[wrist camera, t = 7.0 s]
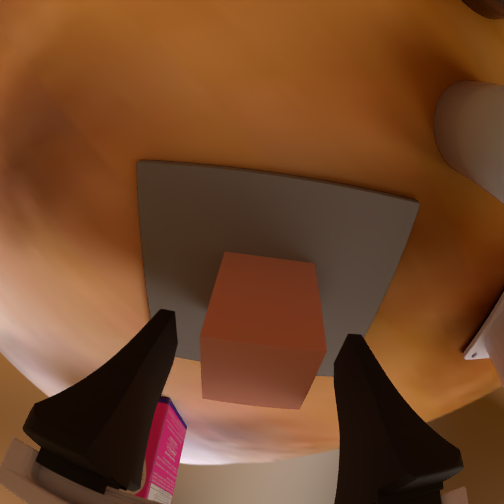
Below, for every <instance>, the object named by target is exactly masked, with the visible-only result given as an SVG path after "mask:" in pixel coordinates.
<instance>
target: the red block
mask: <svg viewBox="0 0 504 504" xmlns="http://www.w3.org/2000/svg"><path fill="white" fill-rule="evenodd" d="M326 352H327V347H326V339H325V331H324V323H323V316H322V309H321V302H320V295H319V288H318V281H317V275H316V269H315V263H308V262H301V261H293V260H285V259H278V258H270V257H262V256H255V255H247V254H239V253H232V252H224V255H223V259H222V262H221V265H220V269H219V272H218V275H217V279H216V282H215V285H214V289H213V292H212V296H211V299H210V302H209V306H208V309H207V313H206V316H205V320H204V323H203V327H202V330H201V334H200V357H201V379H202V397H203V398H204V399H209V400H216V401H222V402H229V403H236V404H244V405H252V406H261V407H272V408H284V409H300V407H301V405H302V403H303V401H304V399H305V397H306V395H307V393H308V391H309V389H310V387H311V385H312V383H313V381H314V379H315V376H316V374H317V372H318V370H319V368H320V366H321V363H322V361H323V359H324V357H325V354H326Z"/></svg>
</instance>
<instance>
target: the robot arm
mask: <svg viewBox="0 0 504 504" xmlns="http://www.w3.org/2000/svg"><path fill="white" fill-rule="evenodd" d="M177 345H178V338H177V328H176V316H175V311H172V310H166V309H160V310H159V311H158V312H157V313H156V314H155V315H154V316H153V317H152V318H151V320H150V321H149V322H148V323H147V324H146V325H145V326H144V327H143V328H142V329H141V330H140V332H139V333H138V334H137V335H136V336H135V337H134V338H133V339H132V340H131V341H130V342H129V343H128V344H127V345H126V346H124V347H123V348H122V349H121V350H120V351H119V352H118V353H117V354H116V355H115V356H113V357H112V358H111V359H110V360H109V361H108V362H106V363H105V364H104V365H102V366H101V367H100V368H99V369H97V370H96V371H94V372H93V373H92V374H90V375H89V376H87V377H86V378H84V379H83V380H81V381H80V382H78V383H76V384H75V385H73V386H71V387H69V388H67V389H66V390H64V391H62V392H60V393H58V394H56V395H54V396H52V397H49V398H47V399H45V400H43V401H40V402H38V403H35V404H34V406H33V408H32V409H31V411H30V413H29V415H28V417H27V419H26V421H25V424H24V426H23V431H24V432H25V433H26V434H27V435H28V436H29V437H30V438H31V439H32V440H33V441H34V442H36V443H37V444H38V445H39V446H40V447H41V449H40V451H39V452H38V451H37V450H35V449H34V448H32V447H30V446H29V445H27V444H25V443H24V442H22V441H20V440H19V439H17V438H16V437H13V438H12V440H11V443H10V445H9V447H8V449H7V452H6V454H5V456H4V459H3V461H2V463H1V466H0V484H1V485H2V486H4V487H5V488H7V489H8V490H9V491H11V492H12V493H13V494H15V495H16V496H18V497H19V498H20V499H22V500H23V501H25V502H26V503H28V504H163V503H159V502H156V501H152V500H148V499H145V498H142V497H138V496H135V495H132V494H129V493H126V492H123V491H120V490H119V489H122V490H125V491H127V490H129V491H132V492H135V491H137V490H139V489H140V488H141V480H142V472H143V466H144V460H145V454H146V449H147V444H148V439H149V434H150V430H151V426H152V421H153V417H154V413H155V410H156V407H157V404H158V402H159V399H160V396H161V394H162V391H163V388H164V386H165V383H166V381H167V378H168V375H169V373H170V370H171V367H172V365H173V361H174V357H175V353H176V349H177ZM463 357H464V359H466V360H468V359H481V358H490V359H491V361H492V363H493V365H494V367H495V369H496V372H497V374H498V376H499V378H500V380H501V383H502V385H503V387H504V292H503V294H502V295H501V297H500V299H499V300H498V302H497V304H496V305H495V307H494V309H493V310H492V312H491V314H490V315H489V317H488V318H487V320H486V321H485V323H484V324H483V326H482V327H481V329H480V330H479V332H478V333H477V335H476V336H475V337H474V339H473V340H472V342H471V343H470V344H469V346H468V347H467V348H466V350H465V351H464V353H463ZM334 389H335V397H336V405H337V412H338V420H339V430H340V456H339V473H338V482H337V490H336V497H335V503H334V504H468V500H467V493H466V487H461V488H458V489H456V490H453V491H450V492H447V493H445V494H442V495H440V490H442V489H443V481H445V480H447V479H449V478H451V477H452V476H454V475H456V474H457V473H459V472H460V471H461V470H462V469H463V467H464V466H463V461H462V457H461V453H460V450H459V449H457V448H456V447H455V446H453V445H452V444H451V443H449V442H448V441H446V440H445V439H444V438H442V437H441V436H440V435H439V434H437V433H436V432H435V431H434V430H433V429H432V428H431V427H429V426H428V425H427V424H426V423H425V422H424V421H423V420H422V419H421V418H420V417H419V416H418V415H417V414H416V412H415V411H414V410H413V409H412V408H411V407H410V406H409V404H408V403H407V402H406V401H405V400H404V399H403V397H402V396H401V395H400V393H399V392H398V391H397V389H396V388H395V387H394V385H393V384H392V382H391V381H390V380H389V378H388V377H387V375H386V373H385V372H384V370H383V369H382V367H381V366H380V364H379V363H378V361H377V359H376V358H375V356H374V354H373V353H372V351H371V350H370V348H369V346H368V345H367V343H366V341H365V340H364V338H363V337H362V335H361V334H348V335H347V337H346V339H345V341H344V343H343V345H342V347H341V349H340V351H339V353H338V355H337V357H336V359H335V361H334Z"/></svg>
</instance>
